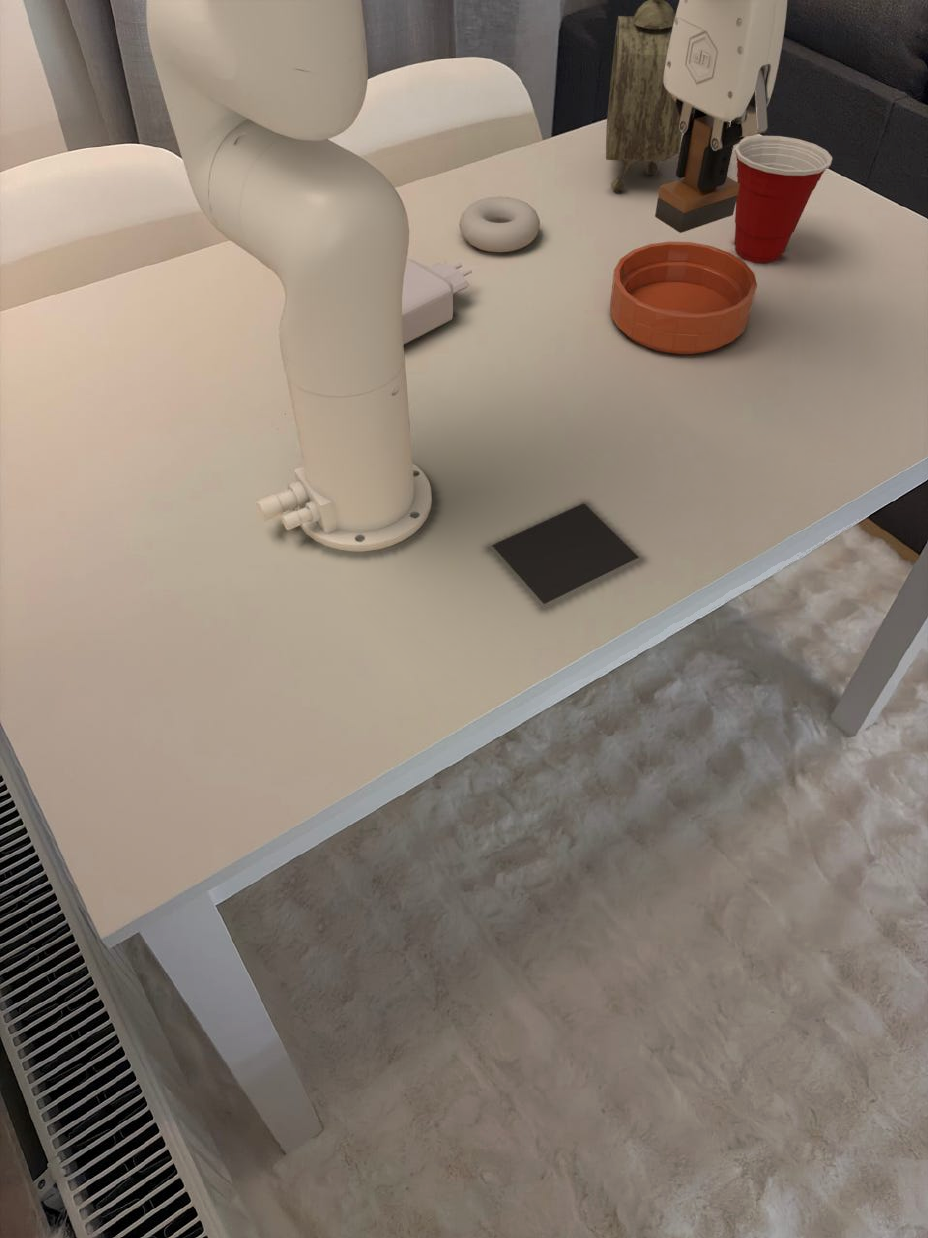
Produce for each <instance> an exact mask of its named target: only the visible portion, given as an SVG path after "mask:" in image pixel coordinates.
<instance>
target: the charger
mask: <svg viewBox="0 0 928 1238" xmlns="http://www.w3.org/2000/svg"><path fill="white" fill-rule="evenodd" d="M462 267H463V265H462V263H457V264H455V265H450V264H448V263H446V262H439V263H436V264H434V265H432V266H429V267H427V266H425V265H423V264H421V263H420V262H418V261H416V260H414V259H412V258H407V261H406V267H405V274H404V282H403V293H402V329H403V345H406V344H408V343H410V342H412V341H414V340H415V339H417V338H419V337H421V336H423V335H426V334H427V333H429V332H431V331H433V330H435V329H437V328H438V327H440V326H442V325H444V324H447V323H448V322H450V321H451V320H453V318H454V295H455V294H457V293H459V292H461V291H463V290H465V289H467V288H468V287H469V286H470V284H469V282H468V280H467V278H466V276H468V275H470V274H472V272H473V271H472V269H471V268H469V269H467V270H465V271H462V272H461V271H460V270H459V269H461V268H462Z"/></svg>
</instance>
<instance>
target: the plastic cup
mask: <svg viewBox="0 0 928 1238" xmlns="http://www.w3.org/2000/svg"><path fill="white" fill-rule="evenodd" d="M734 154H735V156H736V157H735V158H736V169H737V170H736V172H737V173H736V179H737V180H736V182H738V183H739V184H740V186H739V190H738V195H737V200H736V204H735V212H734V213H735V214H734V215H735V216H734V223H735V229H734V241H733V242H734V250H735V252H736V253H735V254H737V255H738V256H739V257H741V258H742V259H744V260H747V261H749V262H752V263H753V262H754V263H759V264H760V263H761V264H762V263H772V262H774V261H777V260H779V259H780V258H782V255H783V254H784V253H785V250H786V248H787V246H788V244H789V242H790V239H791V237H792V235H793V233H794V232H795V230H796V228H797V226H798V224H799V222H800V219H801V217H802V215H803V213H804V211H805V209H806V206H807V204H808V202H809V200H810V198H811V196H812V193H813V191H814V190H815V188H816V186H817V185H818V182H819V181H820V180H821V178H822V175H824V172H826V170H828V169H829V168H830V166H831V165H832V161H833V156H832V155H831V154H830V153H829V151H828V150H826V149H825V148H823V147H821V146H819V145H818V144H815V143H813V142H809V141H807V140H803V139H799V138H795V137H789V136H781V135H756V136H749V137H745V138H743V139H742V140H741V141H740V143H739V144H737V145H735V147H734Z"/></svg>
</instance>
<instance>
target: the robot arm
mask: <svg viewBox="0 0 928 1238" xmlns="http://www.w3.org/2000/svg"><path fill="white" fill-rule="evenodd" d="M145 1H146V2H145V3H146V5H145V12H146V13H145V16H146V17H145V18H146V19H145V20H146V29H147V36H148V37H147V38H148V43H149V48H150V52H151V55H152V59H153V63H154V66H155V71H156V74H157V78H158V81H159V85H160V88H161V92H162V94H163V95H162V96H163V98H164V102H165V105H166V109H167V113H168V116H169V118H170V123H171V126H172V128H173V133H174V136H175V139H176V143H177V147H178V149H179V152H180V153H179V154H180V155H181V159H182V162H183V166H184V170H185V173H186V176H187V178H188V181H189V184H190V187H191V190H192V193H193V195H194V197H195V200H196V201H197V204H198V205H199V208H200V210H201V211H202V213H203V215H204V216H205V217H206V220H207V221H208V222H209V223H210V224H211V225H212V226H213V227H214V228H215V229H216V231H218V232H219V233H220V234H221V235H223V237H225V238H227V239H228V241H231V243H234V245H236V246H237V247H239V248H240V249H242V250H243V251H245V252H246V253H247V254H249V255H251V257H253V258H255V259H256V260H258V261H259V262H260V263H261V264H262V265H263V266H264V267H266V268H268V269H269V270H271V271H272V273H274V274H275V275H276V277H278V279H279V281H280V282H281V284H282V287H283V290H284V295H285V298H284V306H283V309H282V314H281V317H280V321H279V328H278V329H279V332H278V333H279V334H278V336H279V337H278V338H279V348H280V354H281V359H282V365H283V369H284V373H285V376H286V382H287V386H288V392H289V396H290V397H289V398H290V402H291V407H292V413H293V417H294V423H295V428H296V433H297V437H298V445H299V448H300V453H301V459H302V463H303V465H301V466H300V467H297V468H295V469H294V475H295V480H296V481H294V482H291V483H289V484H287V487H286V490H284V491H281V492H278V493H272V494H270V495H267V496H265V497H263V498H260V499H258V500H256V501H255V506H256V509H257V511H258V514H259V516H260V517H261V519H262V521H264V522H266V521H269V520H271V519H274V518H276V517H279V516H281V521H282V524H283V526H284V528H285V529H286V530H287V531H290V530H292V529H295V528H297V527H300V528H301V529H302V531H304V533H305V534H306V535H307V536H308V537H309V538H311V539H313V540H314V541H315V542H317V543H319V544H321V545H324V546H325V547H328V548H331V549H335V550H339V551H345V552H369V551H370V552H371V551H378V550H382V549H385V548H388V547H392V546H394V545H396V544H399V543H401V542H403V541H405V540H407V538H409V537H411V536H412V535H414V534H415V533H416V532H417V531H418V530H419V529H420V528H422V526H423V525H424V523H425V522H426V521H427V519H428V517H429V515H430V512H431V509H432V504H433V495H432V487H431V483H430V481H429V479H428V477H427V475H426V473H424V471H423V470H422V469H421V468H420V467H419V466H418V465H417V464H415V463H414V462H413V451H412V437H411V436H412V435H411V423H410V410H409V397H408V384H407V383H408V382H407V371H406V357H405V348H404V347H405V346H404V345H405V344H404V345H403V329H402V293H403V282H404V274H405V267H406V261H407V259H408V253H409V245H410V225H409V218H408V217H409V216H408V213H407V209H406V207H405V204H404V202H403V199H402V198H401V196H400V194H399V192H398V191H397V189H396V188H395V186H394V185H393V183H391V181H390V180H389V179H388V178H387V177H386V176H385V175H384V173H382V172H381V171H380V170H379V169H378V168H376V167H375V166H374V165H373V164H371V163H370V162H369V161H367V160H366V159H364V158H362V157H361V156H360V155H358V154H356V153H354V152H353V151H350V150H349V149H347V148H345V147H343V146H341V145H339V144H337V143H336V142H334V141H332V140H330V139H333V138H335V137H337V136H340V135H341V134H343V133H345V131H346V130H348V129H349V128H350V127H351V126H352V125H353V124H354V122H355V121H356V120H357V117H358V116H359V114H360V112H361V110H362V108H363V105H364V102H365V99H366V96H367V95H366V94H367V89H368V81H369V63H368V62H369V61H368V47H367V37H366V29H365V20H364V19H365V18H364V11H363V3H362V0H145ZM787 9H788V0H679V2H678V5H677V8H676V11H675V20H674V24H673V28H672V33H671V37H670V42H669V47H668V52H667V58H666V63H665V70H664V79H663V82H664V86H665V88H666V90H667V91H668V92H669V94H670V95H671V97H672V98H673V100H674V101H675V102H676V107H677V110H678V113H679V116H680V122H679V130H680V132H681V133H682V138H681V143H680V148H679V153H678V159H677V165H676V171H675V176H676V177H678V178H679V179H682V178H684V176H685V170H686V164H687V159H688V153H689V148H690V142H691V136H692V130H693V125H694V120H695V119H697V118H700V117H704V116H707V115H710V116H712V117H714V124H713V130H712V136H711V143H710V145H711V146H709V147H705V149H704V153H703V158H702V163H701V168H700V173H699V179H698V184H697V186H698V189H699V190H701V191H705V190H709V189H712V188H715V187H718V186H721V185H723V184H724V183H725V182H726V178H727V177H728V173H729V168H730V163H731V159H732V155H733V149H734V146H736V145H737V144H739V143H740V141H742V140H744V139H746V138H748V137H754V136H758V135H759V134H760V135H761V134H763V133H765V132H766V131H767V130H768V111H767V110H768V109H767V107H768V106H769V104H770V101H771V97H772V95H773V92H774V88H775V84H776V81H777V80H776V79H777V74H778V70H779V65H780V60H781V55H782V49H783V43H784V42H783V41H784V35H785V28H786V20H787ZM727 121H729V122H730V126H729V127H728V128H727V129H726V127H727ZM293 509H294V510H293ZM290 510H293V511H291V512H288V511H290ZM285 512H288V513H286V514H284V513H285Z"/></svg>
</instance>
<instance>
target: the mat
mask: <svg viewBox="0 0 928 1238" xmlns="http://www.w3.org/2000/svg"><path fill="white" fill-rule="evenodd" d="M491 546H492V548H494V549H495V551H496V552H497V553H498V555H499V556H501V557H502V559H504V561H505V562H506V563H507V564H508V566H509V567H510V568H511V569H512V570H513V571H514V572H515V573H516V574H517V576H518V577H519V578H520V579H521V580H522V581H523V582H524V584H526V586H527V587H528V588H529V589H530V590H531V592H533V594H534V595H535V596H536V597H537V598H538V599H539V600H540V602H542V604H543V605H545V604H548V603H549V602H551V601H553V600H556V599H558V598H559V597H561V596H564V595H566V594H567V593H568V594H569V592H572V591H574V590H576V589H577V588H581V587H582V586H584V585H586V584H588V583H590V582H592V581H594V580H596V579H598V578H600V577H602V576H604V575H606V574H608V573H610V572H612V571H614V570H616V569H619V568H620V567H622V566H624V565H626V564H629V563H630V562H632V561H634V560H637V559H638V558H639V555H637V553H635V552H634V551H633V550H632V549H631V548H630V547H629V546H628V545H627V544H626V543H625V542H624V541H623V540H622V539H621V538H620V537H619V536H618V535H617V534H616V533H615V532H614V531H613V530H612V529H611V528H610V527H609V526H608V525H607V524H606V523H605V522H604V521H603V520H602V519H601V518H600V517H599V516H598V515H597V514H595V512H594V511H593V510H592V509H590V508H589V506H587V505H586V503H581V504H579V505H577V506H574V507H573V508H571V509H568V510H565V511H564V512H562V513H559V514H558V515H555V516H553V517H551V518H549V519H546V520H544V521H542V522H540V523H538V524H536V525H533V526H531V527H528V528H526V529H524V530H522V531H521V532H518V533H516V534H514V535H512V536H510V537H507V538H505V539H503V540H500V541H499V542H497V543H494V544H492V545H491Z"/></svg>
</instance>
